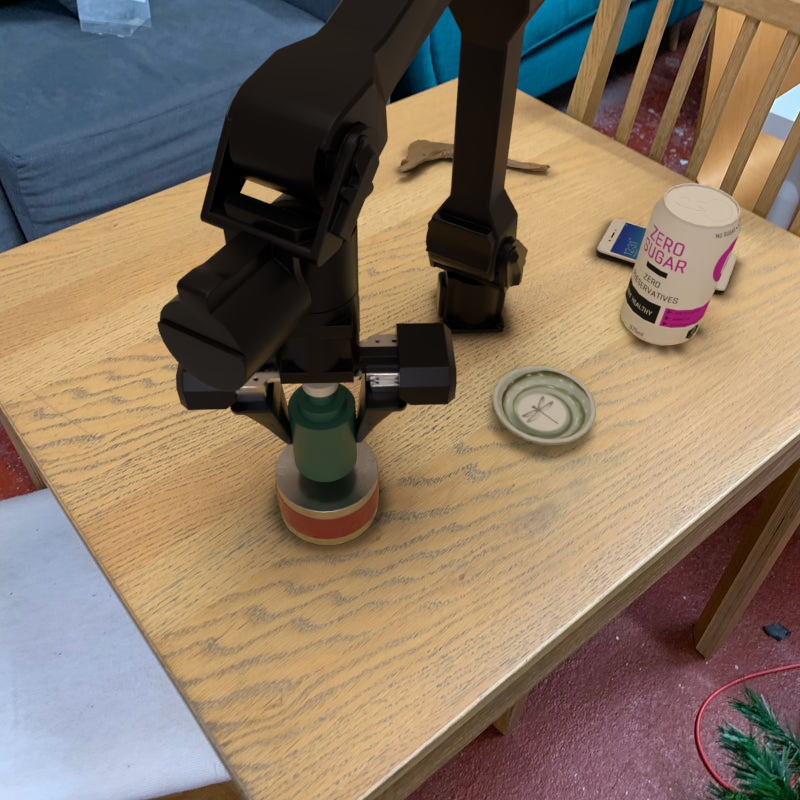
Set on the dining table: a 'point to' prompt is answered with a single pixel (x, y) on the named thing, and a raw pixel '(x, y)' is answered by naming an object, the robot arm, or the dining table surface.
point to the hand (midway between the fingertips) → (324, 439)
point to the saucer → (544, 405)
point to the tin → (328, 499)
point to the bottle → (323, 430)
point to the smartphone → (626, 244)
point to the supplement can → (680, 263)
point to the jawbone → (447, 156)
